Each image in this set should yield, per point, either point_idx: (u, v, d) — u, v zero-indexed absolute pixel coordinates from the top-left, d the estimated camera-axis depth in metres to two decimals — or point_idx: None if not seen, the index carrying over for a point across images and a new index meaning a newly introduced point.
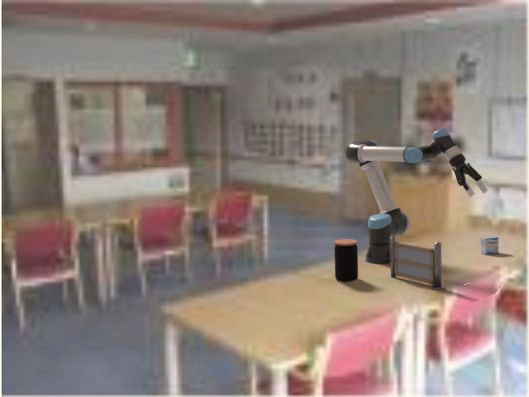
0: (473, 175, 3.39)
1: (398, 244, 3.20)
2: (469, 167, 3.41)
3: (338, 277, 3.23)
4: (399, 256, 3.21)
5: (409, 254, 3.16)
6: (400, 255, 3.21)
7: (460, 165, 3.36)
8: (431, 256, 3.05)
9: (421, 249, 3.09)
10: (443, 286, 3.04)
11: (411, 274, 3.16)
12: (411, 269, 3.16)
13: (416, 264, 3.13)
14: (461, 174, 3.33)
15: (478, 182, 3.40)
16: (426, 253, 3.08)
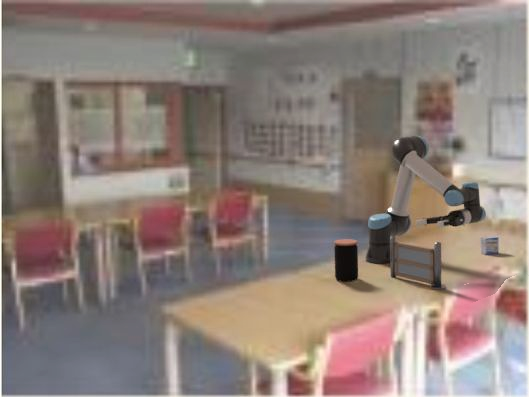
0: (433, 221, 3.28)
1: (398, 244, 3.20)
2: None
3: (338, 277, 3.23)
4: (399, 256, 3.21)
5: (409, 254, 3.16)
6: (400, 255, 3.21)
7: None
8: (431, 256, 3.05)
9: (421, 249, 3.09)
10: (443, 286, 3.04)
11: (411, 274, 3.16)
12: (411, 269, 3.16)
13: (416, 264, 3.13)
14: None
15: (425, 221, 3.27)
16: (426, 253, 3.08)
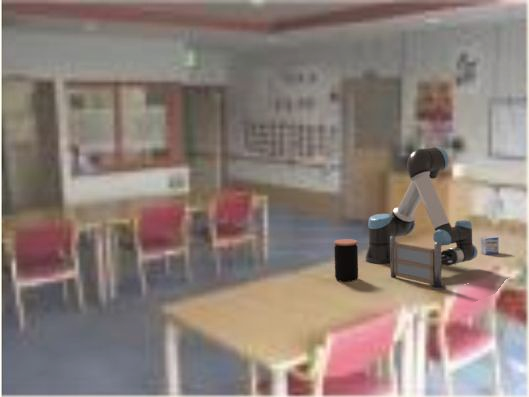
0: None
1: (397, 244, 3.20)
2: None
3: (338, 277, 3.23)
4: (398, 256, 3.21)
5: (409, 254, 3.16)
6: (399, 255, 3.20)
7: None
8: (431, 256, 3.05)
9: (421, 249, 3.09)
10: (443, 286, 3.04)
11: (411, 274, 3.16)
12: (411, 269, 3.16)
13: (416, 264, 3.12)
14: None
15: None
16: (426, 253, 3.07)
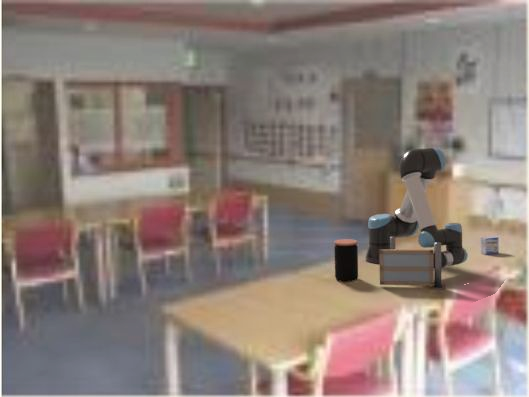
0: None
1: (385, 251, 3.07)
2: None
3: (338, 277, 3.23)
4: (386, 263, 3.08)
5: (400, 259, 3.06)
6: (387, 262, 3.08)
7: None
8: (431, 257, 3.03)
9: (417, 252, 3.04)
10: (443, 286, 3.04)
11: (403, 280, 3.07)
12: (403, 274, 3.07)
13: (410, 268, 3.05)
14: None
15: None
16: (423, 255, 3.04)
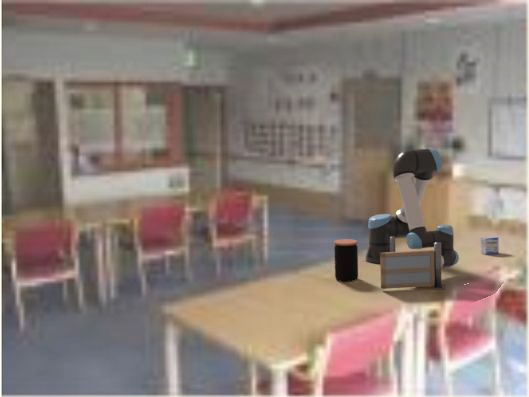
0: None
1: (387, 254, 3.01)
2: None
3: (338, 277, 3.23)
4: (387, 267, 3.02)
5: (401, 262, 3.02)
6: (389, 266, 3.02)
7: None
8: (432, 257, 3.02)
9: (419, 253, 3.01)
10: (443, 286, 3.04)
11: (404, 282, 3.03)
12: (404, 277, 3.03)
13: (412, 270, 3.02)
14: None
15: None
16: (424, 256, 3.02)
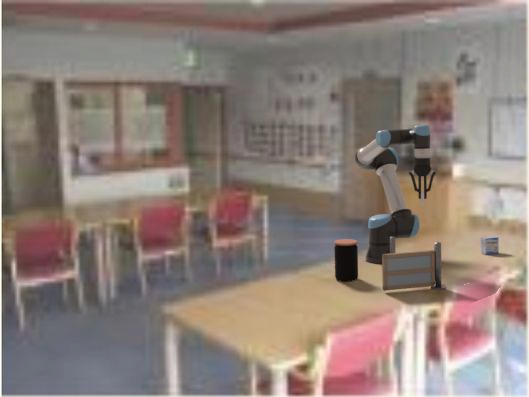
0: None
1: (389, 255, 2.98)
2: (431, 174, 3.36)
3: (338, 277, 3.23)
4: (389, 268, 2.99)
5: (403, 263, 3.00)
6: (391, 267, 2.99)
7: (416, 167, 3.37)
8: (432, 258, 3.02)
9: (420, 253, 3.00)
10: (443, 286, 3.04)
11: (406, 283, 3.01)
12: (406, 278, 3.01)
13: (413, 271, 3.01)
14: None
15: None
16: (425, 256, 3.01)
